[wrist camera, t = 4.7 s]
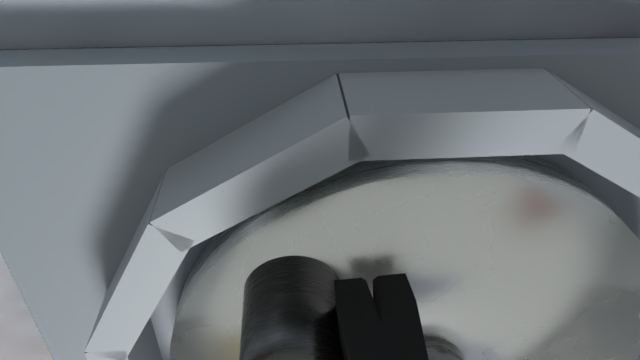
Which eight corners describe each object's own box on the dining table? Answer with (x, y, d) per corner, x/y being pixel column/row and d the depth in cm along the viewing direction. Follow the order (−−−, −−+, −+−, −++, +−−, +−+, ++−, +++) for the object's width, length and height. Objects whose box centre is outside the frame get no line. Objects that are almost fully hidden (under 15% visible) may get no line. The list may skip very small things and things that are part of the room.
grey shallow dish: (616, 424, 22) (657, 497, 20) (121, 461, 21) (101, 543, 19) (869, 33, 12) (1018, 82, 10) (-62, 51, 11) (-162, 114, 8)
